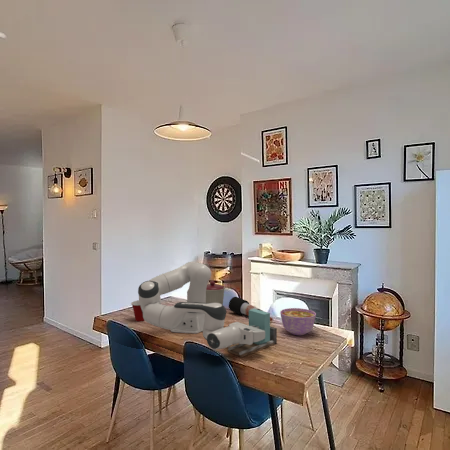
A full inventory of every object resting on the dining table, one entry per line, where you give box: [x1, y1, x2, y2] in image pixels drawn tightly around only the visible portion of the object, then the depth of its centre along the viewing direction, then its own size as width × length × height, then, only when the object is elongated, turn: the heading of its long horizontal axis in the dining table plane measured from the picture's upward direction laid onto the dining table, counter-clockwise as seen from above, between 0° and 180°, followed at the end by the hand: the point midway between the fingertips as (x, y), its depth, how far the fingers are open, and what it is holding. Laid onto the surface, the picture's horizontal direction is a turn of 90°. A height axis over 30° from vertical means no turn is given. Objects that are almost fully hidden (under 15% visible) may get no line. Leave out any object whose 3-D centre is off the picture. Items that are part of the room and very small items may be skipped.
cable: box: [228, 296, 274, 322], centre depth 221 cm, size 10×34×10 cm, turn 42°
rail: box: [227, 325, 278, 358], centre depth 169 cm, size 26×9×8 cm, turn 132°
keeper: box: [248, 309, 271, 345], centre depth 172 cm, size 5×11×16 cm, turn 42°
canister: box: [206, 280, 226, 306], centre depth 237 cm, size 18×18×21 cm
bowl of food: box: [279, 307, 317, 336], centre depth 190 cm, size 20×20×12 cm
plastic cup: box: [130, 299, 145, 322], centre depth 214 cm, size 11×11×12 cm
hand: (257, 327), depth 170 cm, fingers closed
